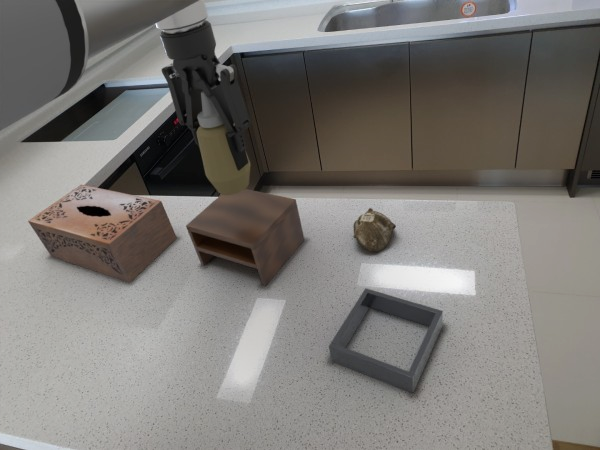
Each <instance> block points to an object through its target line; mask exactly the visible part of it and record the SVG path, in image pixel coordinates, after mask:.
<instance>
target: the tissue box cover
mask: <svg viewBox="0 0 600 450" xmlns="http://www.w3.org/2000/svg"><path fill="white" fill-rule="evenodd" d="M27 222H28V224H29V225H30V227H31V228H32V230H33V232H34V233H35V234H36V236H37V238H39V240H40V242H41V243H42V245H43V247H44V248H45V250H46V251H47V252H48V254H49V255H50V257H52V258H55V259H58V260H61V261H64V262H67V263H70V264H73V265H76V266H78V267H82V268H85V269H88V270H91V271H94V272H97V273H100V274H103V275H106V276H109V277H112V278H115V279H118V280H121V281H124V282H127V283H132V281H134V280H135V279H136V278H137V277H138V276H139V275H140V274H141V273H142V272H143V271H145V269H146V268H148V267H149V265H151V263H152V262H153V261H155V260H156V259H157V258H158V257H159V256H160V255H161V254H162V253H163V252H164V251H166V249H168V247H169V246H171V244H173V243H174V242H175V241H176V240H177V239H178V237H177V234H176V232H175V230H174V228H173V225H172V223H171V221H170V218H169V215H168V213H167V211H166V209H165V206H164V205H163V202H162V200H160V199H154V198H149V197H144V196H140V195H134V194H129V193H124V192H120V191H115V190H111V189H106V188H105V189H104V188H100V187H96V186H90V185H87V184H80V185H78V186H76V187H75V188H74V189H72V190H71V191H69V192H68V193H67V194H65V195H63V196H62V197H61V198H59V199H58V200H56V201H55V202H54V203H52V204H50V205H49V206H48V207H46V208H45V209H43V210H42V211H41V212H39V213H37V214H36V215H35V216H33V217H32V218H30V219H29V220H28V221H27Z"/></svg>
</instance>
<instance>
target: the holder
mask: <svg viewBox="0 0 600 450" xmlns="http://www.w3.org/2000/svg"><path fill="white" fill-rule="evenodd" d="M369 309H373V310H376V311H379V312H383V313H385V314H389V315H391V316H395V317H399V318H400V319H401V318H402V319H405V320H408V321H410V322H414V323H418V324H421V325H423V326H427V327H428V329H427V332H426V334H425V335H424V338H423V339H422V342H421V344H420V346H419V348H418V351H417V353H416V354H415V357H414V359H413V361H412V363H411V366H410V368H409V370H406V369H403V368H401V367H398V366H396V365H392V364H390V363H387V362H384V361H382V360H379V359H377V358H373V357H372V356H369V355H365V354H363V353H360V352H359V351H358V352H357V351H355V350H352V349H350V348H347V345H348V344H349V342H350V341H351V339H352V337H353V336H354V335H355V332H356V331H357V329H358V327H359V326H360V324H361V322H362V320H363V319H364V317H365V315H366V314H367V313H368V310H369ZM443 317H444V311H443V310H441V309H439V308H438V309H437V308H434V307H430V306H427V305H424V304H420V303H417V302H415V301H410V300H407V299H404V298H401V297H397V296H393V295H390V294H386V293H384V292H380V291H376V290H373V289H370V288H366V287H365V288H364V290H362V293H361V294H360V296H359V298H358V299H357V301H356V302H355V303H354V306H353V307H352V308H351V310H350V312H349V313H348V314H347V317H346V318H345V319H344V321H343V323H342V325H341V326H340V328H339V329H338V331H337V333H336V334H335V336H334V337H333V339H332V340H331V342H330V343H329V345H328V350H329V354H330V359H331V362H332V363H336V364H339V365H340V366H343V367H346V368H348V369H350V370H353V371H356V372H359V373H361V374H363V375H366V376H369V377H370V378H373V379H376V380H379V381H381V382H383V383H386V384H389V385H391V386H394V387H396V388H398V389H401V390H403V391H406V392H408V393H411V394H414V392H415V389H416V388H417V385H418V383H419V381H420V378H421V376H422V374H423V372H424V369H425V367H426V364H427V362H428V360H429V358H430V356H431V353H432V351H433V349H434V347H435V344H436V342H437V340H438V337H439V335H440V333H441V330H442V328H443V319H444V318H443Z"/></svg>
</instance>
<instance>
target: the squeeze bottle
mask: <svg viewBox="0 0 600 450" xmlns="http://www.w3.org/2000/svg"><path fill="white" fill-rule="evenodd" d="M201 107H202V112H200V113H199V114H198V116H197V118H198V121H199V124H200V127H199V128H198V129H197V138H198V142H199V147H200V150H199V152H200V151H201V153H200V155H201V160H202V165H203V170H204V174H205V176H206V179H207V180H208V181H209V182H210V184H211V185H212V186H213V187H214V189H215V190H216V191H217V192H218V193H219V194H220V195H221V194H223V195H232V194H236V193H239V192H241V191H243V190H244V189H247V188H248V187H249V185H250V174H251V161H250V158H249V156H248V153H247V152H246V155H247V158H248V162H249V163H248V164H246V165H245V166H244V167H243V168H242V169H241V170H237V167H236V164H235V162H234V159H233V156H232V154H231V151H230V148H229V145H228V142H227V138H226V134H228V133H229V132H228V130H227V128H226V126H225V125H224V123H223V121H222V119H221V117H220V116H219V114H218V112H217V110H216V108H215V107H214V105H213V103H212V101H211V99H210V98H209V97H207V96H206V95H205V94H204V92H203V90H201ZM233 125H235V124H233ZM199 147H198V148H199Z"/></svg>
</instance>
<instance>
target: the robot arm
mask: <svg viewBox="0 0 600 450" xmlns="http://www.w3.org/2000/svg"><path fill="white" fill-rule="evenodd" d="M205 2H206V1H205V0H0V132H1V131H3V130H5V129H6V128H8V127H10V126H11V125H13V124H15V123H17V122H18V121H20V120H23V119H25V117H27V116H29V115H30V114H33V113H34V112H37V110H39V109H41V108H42V107H44V106H46V105H47V104H49V103H51V102H52V101H54V100H56V99H58V98H59V97H61V96H62V95H65V94H66V93H68V92H69V91H71V90H72V89H73V88H74V87H75V86H76V85H77V84H78V83H79V81H80V80H81V79H82V77H83V75H84V73H85V71H86V67H87V64H88V60H90V59H91V58H93V57H95V56H97V55H99V54H100V53H103V52H105V51H107V50H108V49H110V48H112V47H114V46H116V45H117V44H120V43H121V42H124V41H125V40H127V39H129V38H131V37H133V36H135V35H136V34H139V33H140V32H143V31H144V30H147V29H148V28H150V27H152V26H153V25H155V27H156V28H157V29H158V30H160V35H159V38H160V40H161V44H162V46H163V49H164V52H165V55H166V57H167V58H168V59H169V60H172V63H170V64H168V65H166V66H164V67H162V68H161V72H162V73H161V74H163V77H164V79H165V81H166V83H167V85H168V89H169V93H170V97H171V100H172V104H173V106H174V111H175V114H176V117H177V121H178V123H179V125H181V126H187V128H188V129H189V130H190V131H191V134H192V136H193V139H194V143H195V145H196V146H198V150H199V152H200V154H201V151H200V147H199V142H198V138H197V129H198V128H199V127H200V124H199V121H198V118H197V116H198V114H199V113H200V112H202V99H201V91H203V92H204V94H205V95H206V96H207V97H209V98H210V99H211V101H212V103H213V105H214V107H215V108H216V110H217V112H218V114H219V116H220V117H221V119H222V121H223V123H224V125H225V126H226V128H227V130H228V132H229V133H228V134H226V138H227V142H228V145H229V148H230V151H231V154H232V156H233V159H234V162H235V164H236V167H237V170H241V169H242V168H243V167H244V166H245V165H246V164H248V163H249V162H248V158H249V157H248V158H247V156H248V154H247V155H246V153H247V151H246V149H247V141H246V138H245V134H244V131H246V130H247V129H248V128H249V127H251V126H252V120H251V117H250V115H249V111H248V108H247V105H246V102H245V100H244V97H243V94H242V90H241V87H240V84H239V81H238V68H237V66H236V65H235V64H229V65H224V64H222V63H221V61H220V59H218V57H217V55H216V46H217V41H216V38H215V34H214V31H213V27H212V24H211V22H209V20H207V18H208V17H209V13H208V10H207V5H206V3H205ZM233 124H235V125H233Z"/></svg>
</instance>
